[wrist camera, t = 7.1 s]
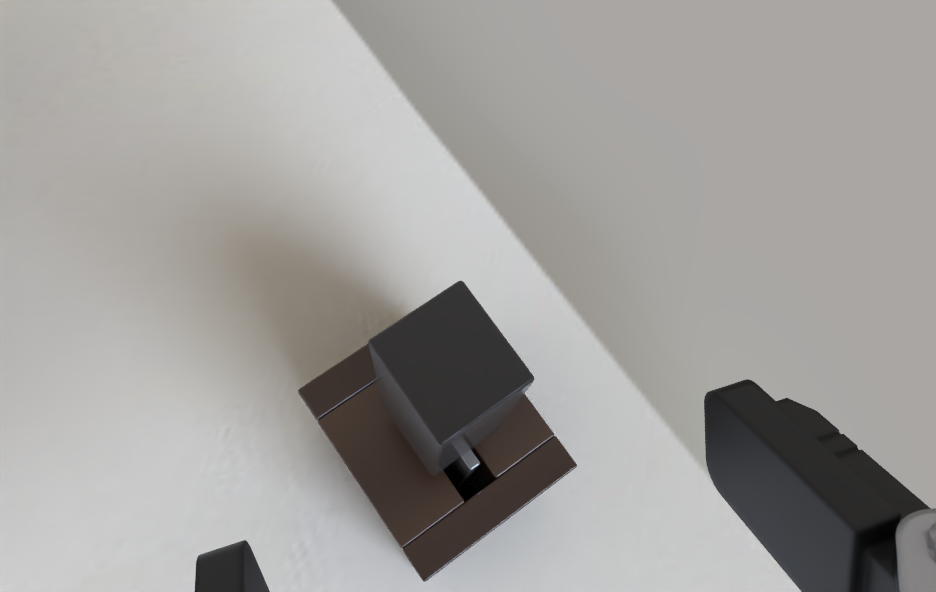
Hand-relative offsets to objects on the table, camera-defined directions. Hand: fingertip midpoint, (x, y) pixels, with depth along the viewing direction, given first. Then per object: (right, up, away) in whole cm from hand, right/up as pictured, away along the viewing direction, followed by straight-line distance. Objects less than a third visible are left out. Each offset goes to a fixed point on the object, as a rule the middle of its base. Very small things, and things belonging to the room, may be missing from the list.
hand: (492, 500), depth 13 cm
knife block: (-2, -2, +13) cm, 14 cm away
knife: (-2, -2, +13) cm, 14 cm away
